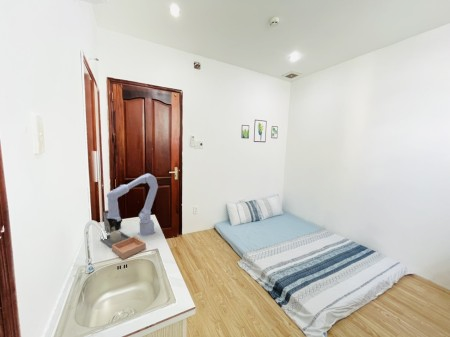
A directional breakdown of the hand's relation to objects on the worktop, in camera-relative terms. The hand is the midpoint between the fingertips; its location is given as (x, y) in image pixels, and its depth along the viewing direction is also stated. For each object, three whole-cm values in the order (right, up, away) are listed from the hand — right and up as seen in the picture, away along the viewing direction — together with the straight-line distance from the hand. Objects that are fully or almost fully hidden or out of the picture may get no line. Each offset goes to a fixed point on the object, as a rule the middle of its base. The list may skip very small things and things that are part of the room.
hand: (114, 228), depth 127 cm
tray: (0, -9, +1) cm, 9 cm away
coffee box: (-11, -7, +17) cm, 21 cm away
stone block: (0, -8, +1) cm, 8 cm away
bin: (+14, -10, -9) cm, 20 cm away
